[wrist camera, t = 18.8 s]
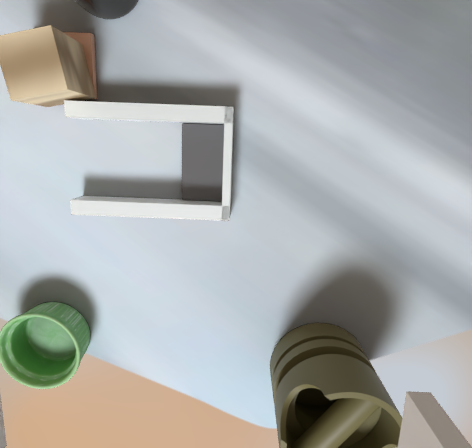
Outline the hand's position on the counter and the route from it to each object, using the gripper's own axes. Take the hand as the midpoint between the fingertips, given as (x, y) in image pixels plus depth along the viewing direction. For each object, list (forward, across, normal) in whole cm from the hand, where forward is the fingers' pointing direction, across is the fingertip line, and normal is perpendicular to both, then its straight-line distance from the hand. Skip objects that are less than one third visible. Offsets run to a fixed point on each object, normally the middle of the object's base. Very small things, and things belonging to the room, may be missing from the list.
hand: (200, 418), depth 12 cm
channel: (+29, +8, -6) cm, 30 cm away
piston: (+29, -11, +17) cm, 35 cm away
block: (+28, +17, -14) cm, 36 cm away
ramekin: (+29, +20, +14) cm, 38 cm away
